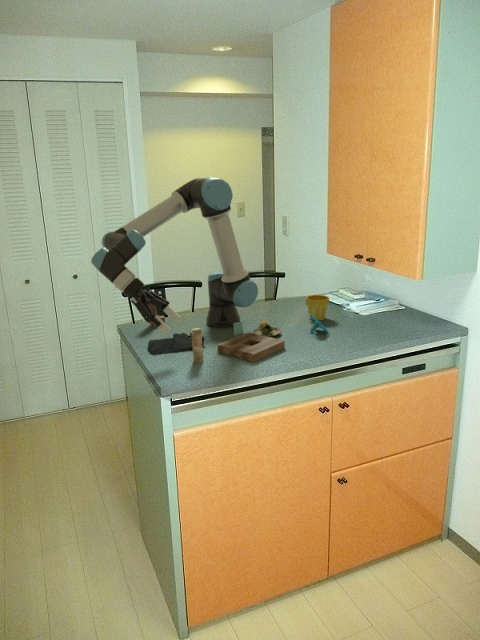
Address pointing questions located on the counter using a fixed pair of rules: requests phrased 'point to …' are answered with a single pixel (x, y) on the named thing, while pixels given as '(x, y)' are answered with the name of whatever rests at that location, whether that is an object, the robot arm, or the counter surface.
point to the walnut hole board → (251, 346)
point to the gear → (317, 325)
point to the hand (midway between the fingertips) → (173, 325)
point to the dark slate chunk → (172, 344)
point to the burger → (266, 330)
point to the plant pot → (317, 306)
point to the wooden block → (155, 314)
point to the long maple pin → (197, 345)
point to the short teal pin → (238, 329)
